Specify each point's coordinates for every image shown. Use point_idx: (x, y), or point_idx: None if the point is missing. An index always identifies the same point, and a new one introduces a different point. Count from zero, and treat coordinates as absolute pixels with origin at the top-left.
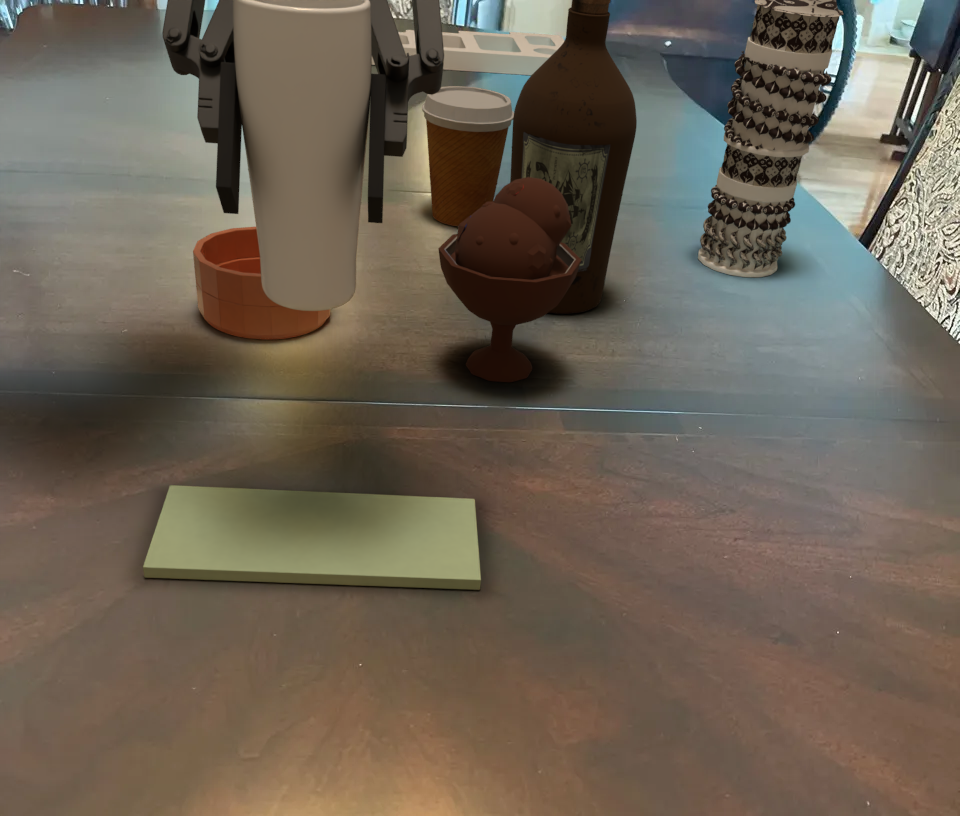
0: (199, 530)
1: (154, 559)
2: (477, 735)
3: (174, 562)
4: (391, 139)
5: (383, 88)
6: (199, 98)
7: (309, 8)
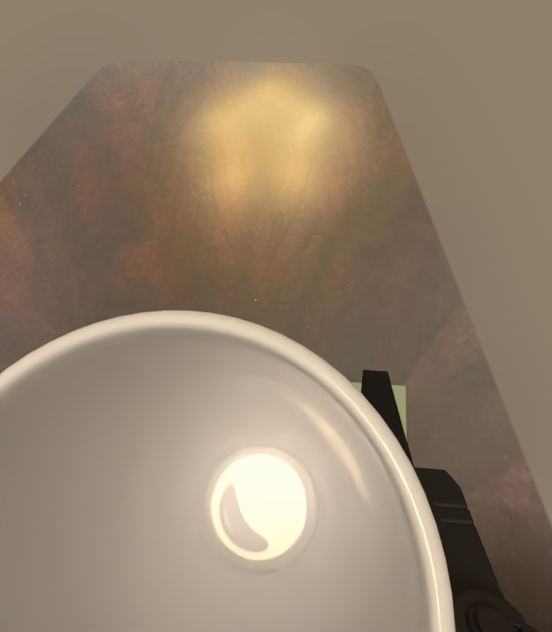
0: None
1: (398, 394)
2: (197, 246)
3: None
4: None
5: None
6: (471, 524)
7: (143, 318)
